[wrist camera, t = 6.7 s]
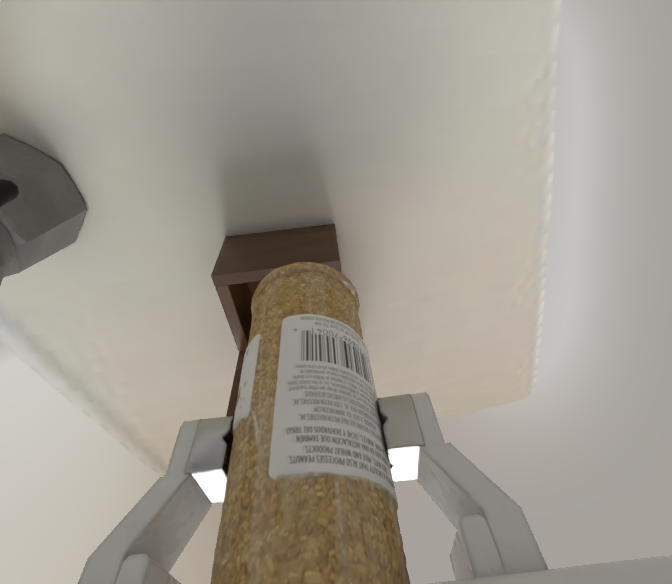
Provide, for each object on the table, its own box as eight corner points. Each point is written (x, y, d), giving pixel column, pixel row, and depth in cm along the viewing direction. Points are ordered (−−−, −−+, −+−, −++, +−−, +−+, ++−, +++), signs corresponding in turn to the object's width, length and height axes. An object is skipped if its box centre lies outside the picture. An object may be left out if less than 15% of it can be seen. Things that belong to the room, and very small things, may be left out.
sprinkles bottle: (230, 302, 15) (61, 961, 5) (308, 235, 14) (328, 1014, 3) (306, 355, 18) (310, 882, 7) (381, 303, 16) (540, 888, 5)
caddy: (225, 237, 31) (185, 343, 21) (334, 223, 31) (349, 323, 21) (268, 375, 42) (256, 490, 32) (350, 365, 42) (365, 478, 32)
